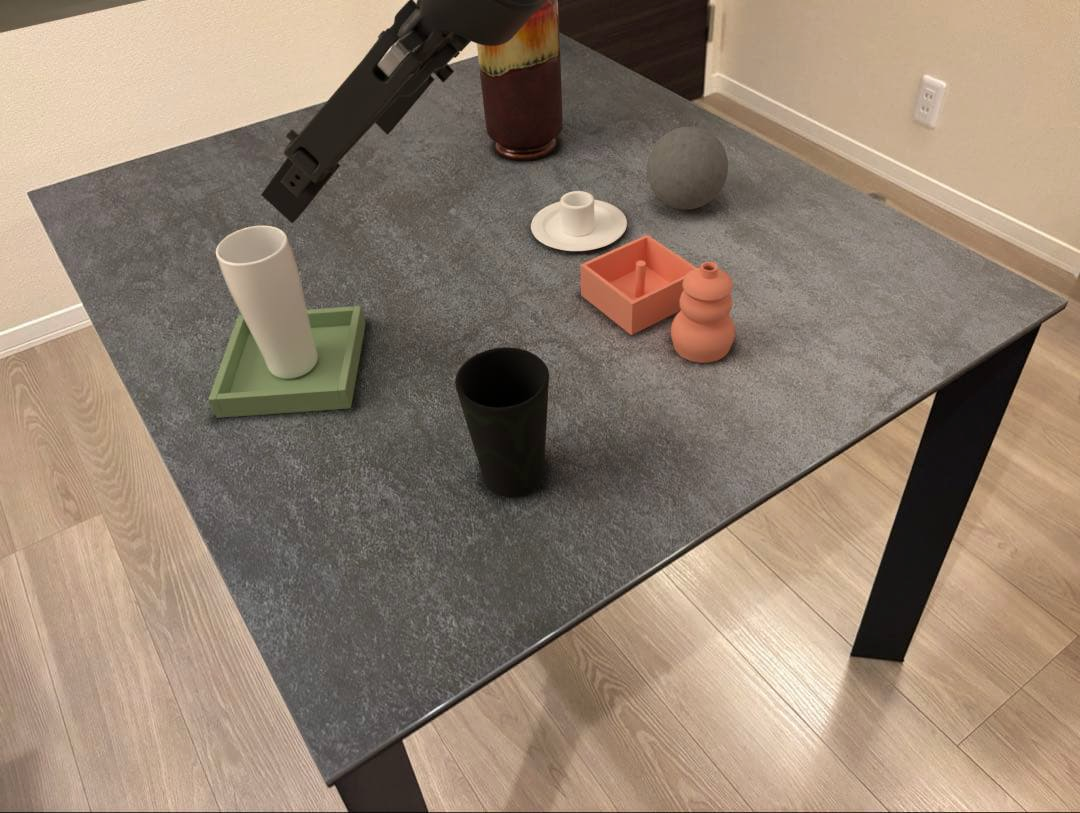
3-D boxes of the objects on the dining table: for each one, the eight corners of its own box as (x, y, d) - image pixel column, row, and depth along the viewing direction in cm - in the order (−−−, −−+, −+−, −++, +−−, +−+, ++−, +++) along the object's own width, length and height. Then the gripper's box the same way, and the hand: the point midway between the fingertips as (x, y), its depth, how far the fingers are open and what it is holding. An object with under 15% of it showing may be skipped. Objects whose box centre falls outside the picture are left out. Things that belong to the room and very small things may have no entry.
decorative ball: (738, 213, 104) (748, 138, 98) (668, 232, 102) (672, 158, 95) (699, 177, 111) (705, 106, 104) (632, 195, 109) (634, 123, 102)
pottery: (581, 295, 94) (579, 220, 87) (645, 265, 98) (648, 190, 91) (687, 380, 83) (694, 301, 76) (756, 342, 87) (768, 264, 80)
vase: (477, 161, 118) (453, -38, 100) (502, 126, 126) (484, -65, 107) (551, 168, 115) (540, -35, 97) (572, 132, 123) (566, -63, 105)
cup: (568, 456, 77) (564, 359, 68) (534, 517, 72) (524, 420, 63) (495, 434, 79) (482, 338, 71) (456, 491, 74) (437, 395, 66)
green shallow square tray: (216, 418, 83) (207, 399, 81) (245, 332, 93) (238, 314, 91) (351, 408, 83) (345, 389, 81) (365, 323, 93) (360, 305, 91)
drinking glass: (310, 335, 91) (271, 216, 80) (337, 367, 87) (299, 246, 76) (252, 361, 88) (204, 241, 78) (276, 395, 84) (229, 274, 74)
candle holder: (572, 194, 110) (570, 164, 107) (645, 222, 104) (647, 192, 101) (511, 235, 104) (508, 204, 101) (586, 267, 98) (586, 236, 95)
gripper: (452, 90, 39) (275, 291, 54) (611, -64, 56) (442, 124, 70) (330, -39, 37) (181, 208, 52) (533, -159, 53) (376, 55, 68)
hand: (331, 160), depth 61 cm, fingers open, 13 cm apart
